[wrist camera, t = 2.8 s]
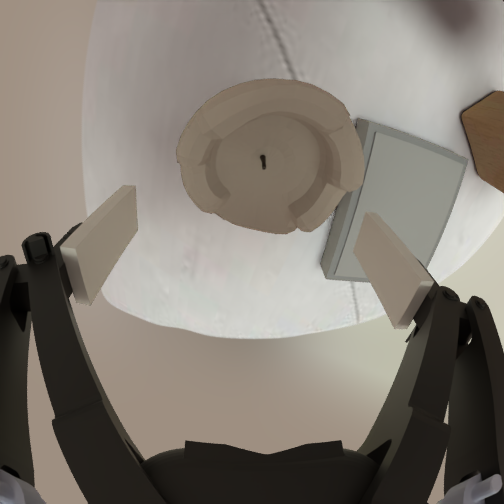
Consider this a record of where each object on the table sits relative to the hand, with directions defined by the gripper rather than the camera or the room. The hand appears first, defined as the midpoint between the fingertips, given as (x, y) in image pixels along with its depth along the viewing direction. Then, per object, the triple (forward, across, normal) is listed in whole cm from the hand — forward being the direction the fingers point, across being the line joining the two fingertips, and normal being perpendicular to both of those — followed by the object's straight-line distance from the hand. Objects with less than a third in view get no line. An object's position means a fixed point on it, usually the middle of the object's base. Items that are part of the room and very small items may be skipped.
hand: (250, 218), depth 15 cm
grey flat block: (+14, +17, -3) cm, 22 cm away
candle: (+14, 0, 0) cm, 14 cm away
